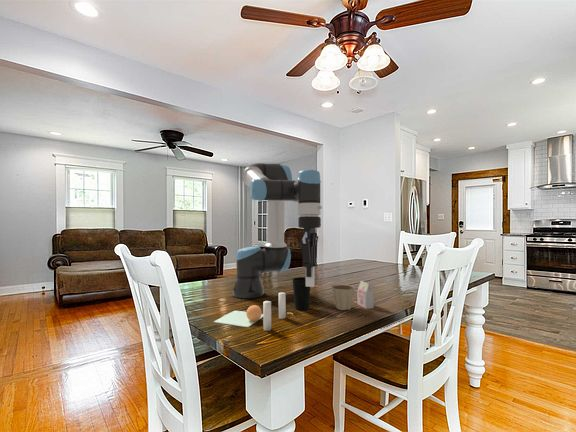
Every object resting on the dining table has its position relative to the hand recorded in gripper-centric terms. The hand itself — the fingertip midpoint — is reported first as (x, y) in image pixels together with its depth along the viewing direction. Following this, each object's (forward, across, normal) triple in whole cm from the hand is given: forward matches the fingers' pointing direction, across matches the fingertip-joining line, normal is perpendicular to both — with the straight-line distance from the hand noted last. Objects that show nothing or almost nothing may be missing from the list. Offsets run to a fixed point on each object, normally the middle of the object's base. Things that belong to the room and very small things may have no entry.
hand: (310, 286), depth 96 cm
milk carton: (+14, +32, -14) cm, 38 cm away
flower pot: (+14, +26, -6) cm, 30 cm away
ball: (+11, 0, +21) cm, 24 cm away
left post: (+14, -6, +13) cm, 20 cm away
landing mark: (+14, 0, +27) cm, 30 cm away
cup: (+14, +20, +10) cm, 26 cm away
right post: (+14, +6, +13) cm, 20 cm away
